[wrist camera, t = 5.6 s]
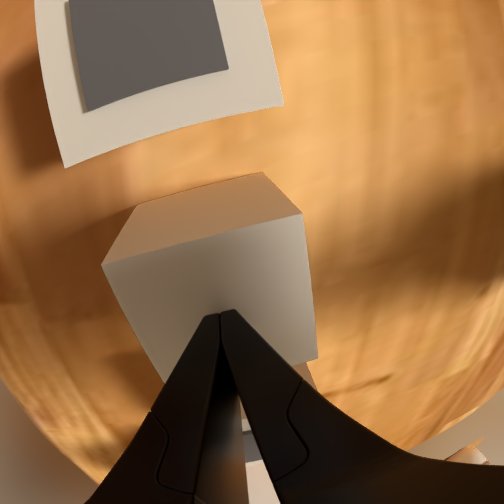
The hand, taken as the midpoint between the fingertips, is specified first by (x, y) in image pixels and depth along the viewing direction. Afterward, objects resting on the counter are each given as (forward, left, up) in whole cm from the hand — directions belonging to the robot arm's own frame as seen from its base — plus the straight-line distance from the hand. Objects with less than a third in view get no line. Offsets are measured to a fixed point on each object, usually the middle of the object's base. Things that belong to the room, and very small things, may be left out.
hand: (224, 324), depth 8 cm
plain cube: (0, 0, -5) cm, 5 cm away
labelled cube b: (+7, 0, -5) cm, 9 cm away
